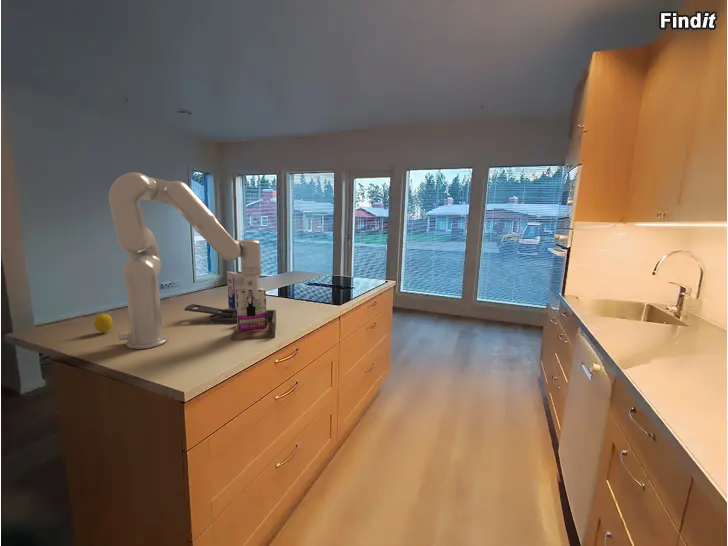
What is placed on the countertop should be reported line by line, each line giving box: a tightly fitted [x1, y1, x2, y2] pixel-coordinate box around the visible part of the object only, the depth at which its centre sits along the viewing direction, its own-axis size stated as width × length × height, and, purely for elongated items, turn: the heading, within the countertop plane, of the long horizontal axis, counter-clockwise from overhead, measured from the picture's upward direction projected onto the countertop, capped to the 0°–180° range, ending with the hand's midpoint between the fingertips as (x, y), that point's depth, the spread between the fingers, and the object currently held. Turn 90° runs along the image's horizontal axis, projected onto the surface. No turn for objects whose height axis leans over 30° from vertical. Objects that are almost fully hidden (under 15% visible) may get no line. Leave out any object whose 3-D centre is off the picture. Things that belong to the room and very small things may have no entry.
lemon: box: [94, 313, 114, 334], centre depth 127 cm, size 6×6×8 cm
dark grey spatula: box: [184, 303, 237, 325], centre depth 146 cm, size 9×7×25 cm
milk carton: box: [226, 270, 245, 309], centre depth 160 cm, size 7×7×20 cm
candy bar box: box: [236, 287, 267, 332], centre depth 132 cm, size 11×5×16 cm, turn 116°
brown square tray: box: [230, 309, 277, 341], centre depth 133 cm, size 16×18×6 cm
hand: (252, 312), depth 132 cm, fingers open, 9 cm apart
